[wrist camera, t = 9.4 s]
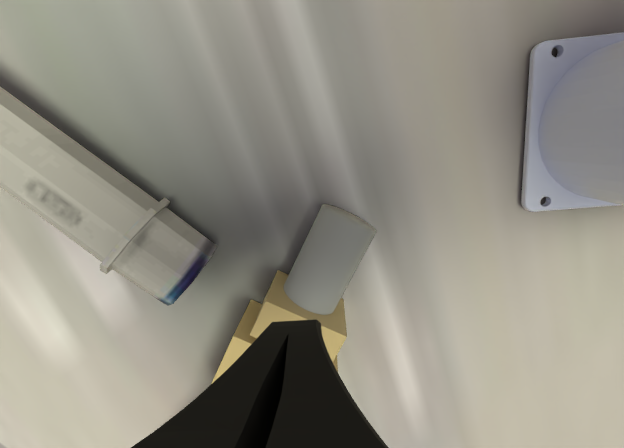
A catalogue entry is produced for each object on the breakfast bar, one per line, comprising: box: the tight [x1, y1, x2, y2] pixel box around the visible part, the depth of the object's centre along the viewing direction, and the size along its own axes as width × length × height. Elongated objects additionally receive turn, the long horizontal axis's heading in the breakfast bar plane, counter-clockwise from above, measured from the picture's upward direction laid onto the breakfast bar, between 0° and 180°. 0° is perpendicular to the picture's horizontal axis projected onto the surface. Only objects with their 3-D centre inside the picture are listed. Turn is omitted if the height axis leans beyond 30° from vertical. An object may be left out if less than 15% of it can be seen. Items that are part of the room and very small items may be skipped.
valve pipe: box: [212, 204, 376, 383], centre depth 19 cm, size 20×6×4 cm, turn 155°
